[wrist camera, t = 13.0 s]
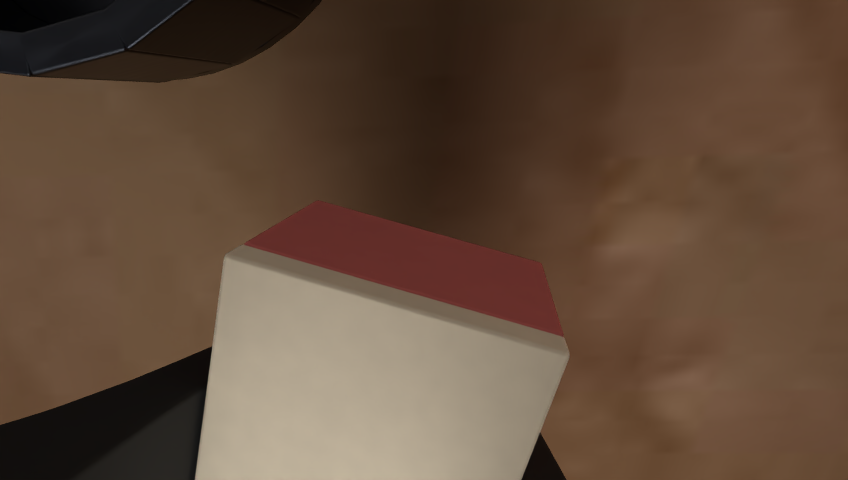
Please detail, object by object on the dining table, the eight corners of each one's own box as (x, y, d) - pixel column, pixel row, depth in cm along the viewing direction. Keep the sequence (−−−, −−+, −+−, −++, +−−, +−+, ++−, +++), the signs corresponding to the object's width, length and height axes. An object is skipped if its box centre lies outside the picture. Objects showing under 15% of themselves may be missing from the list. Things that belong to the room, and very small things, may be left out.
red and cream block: (447, 535, 11) (429, 717, 8) (264, 478, 12) (173, 632, 8) (542, 262, 9) (571, 354, 6) (316, 199, 9) (222, 254, 6)
